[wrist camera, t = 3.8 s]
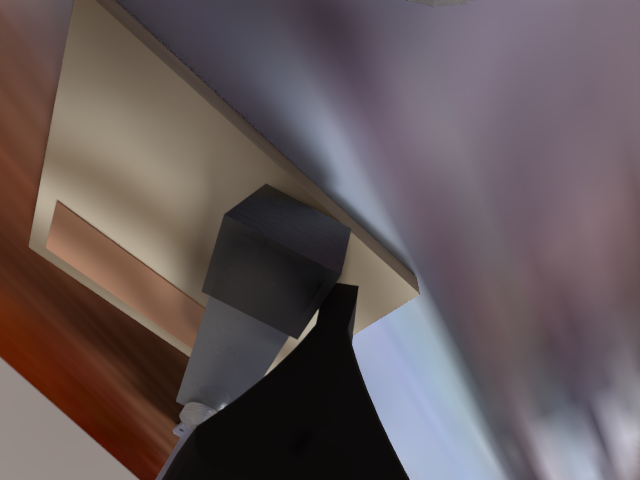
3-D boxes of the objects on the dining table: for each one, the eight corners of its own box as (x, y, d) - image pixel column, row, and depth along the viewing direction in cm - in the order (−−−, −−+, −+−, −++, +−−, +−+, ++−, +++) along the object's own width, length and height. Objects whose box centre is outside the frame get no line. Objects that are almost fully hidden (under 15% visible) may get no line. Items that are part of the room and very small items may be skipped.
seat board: (257, 381, 19) (249, 401, 17) (51, 237, 16) (24, 248, 15) (416, 277, 12) (420, 297, 11) (110, -4, 9) (70, -19, 8)
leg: (255, 383, 16) (227, 447, 13) (202, 357, 16) (161, 415, 13) (351, 228, 10) (339, 284, 7) (265, 183, 10) (215, 220, 7)
